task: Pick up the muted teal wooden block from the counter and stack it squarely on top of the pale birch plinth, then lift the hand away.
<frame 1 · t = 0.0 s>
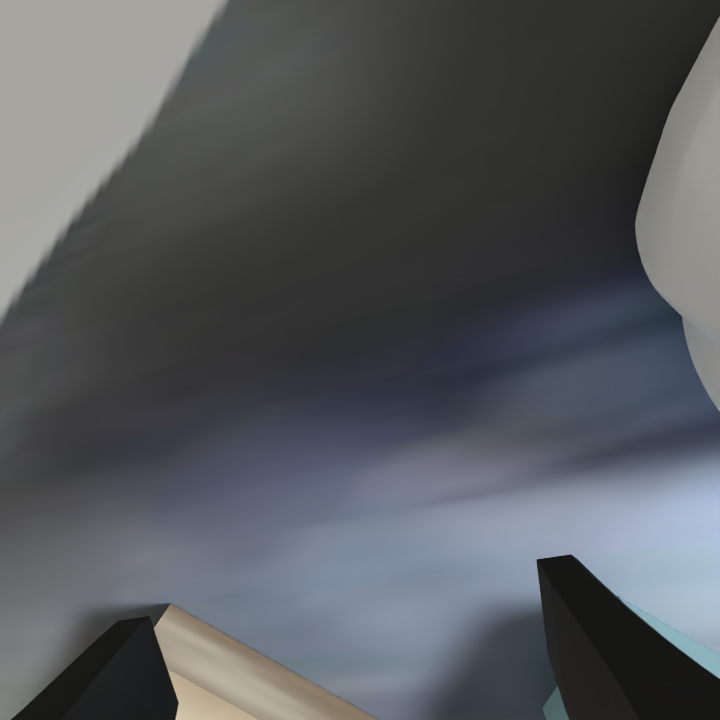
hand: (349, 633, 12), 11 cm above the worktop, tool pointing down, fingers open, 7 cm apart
teal block: (639, 685, 23), on the worktop
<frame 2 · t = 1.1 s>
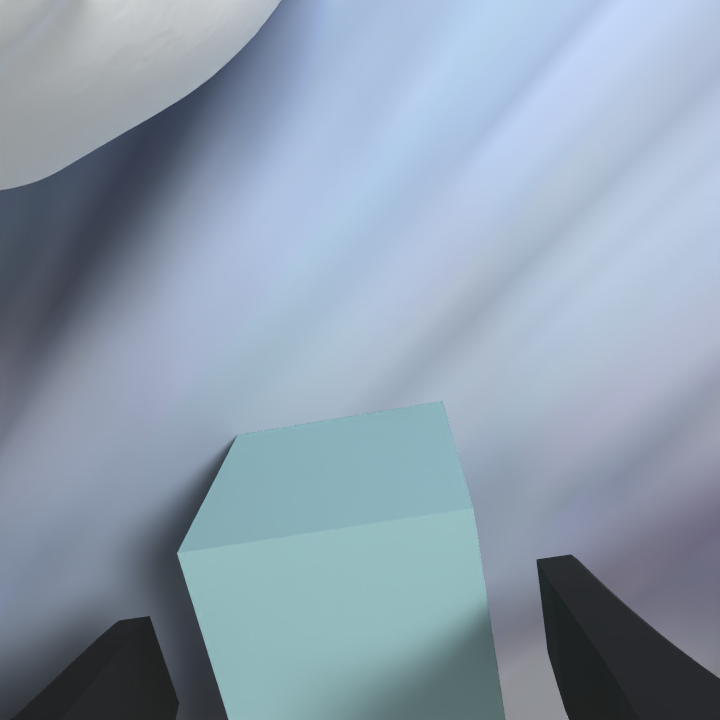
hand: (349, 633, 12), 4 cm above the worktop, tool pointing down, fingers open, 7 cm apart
teal block: (358, 508, 16), on the worktop
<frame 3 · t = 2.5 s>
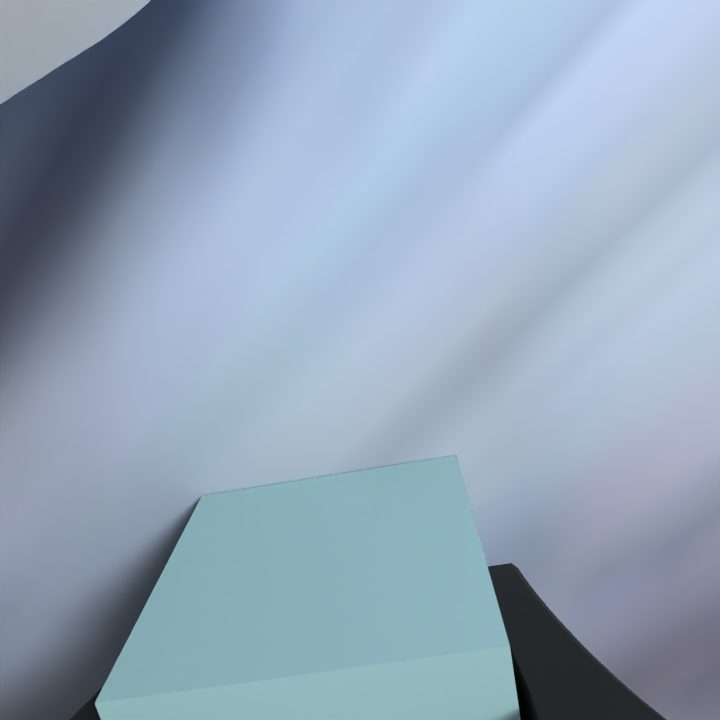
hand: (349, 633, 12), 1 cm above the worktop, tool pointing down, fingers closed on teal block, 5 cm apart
teal block: (351, 584, 13), on the worktop, touching gripper
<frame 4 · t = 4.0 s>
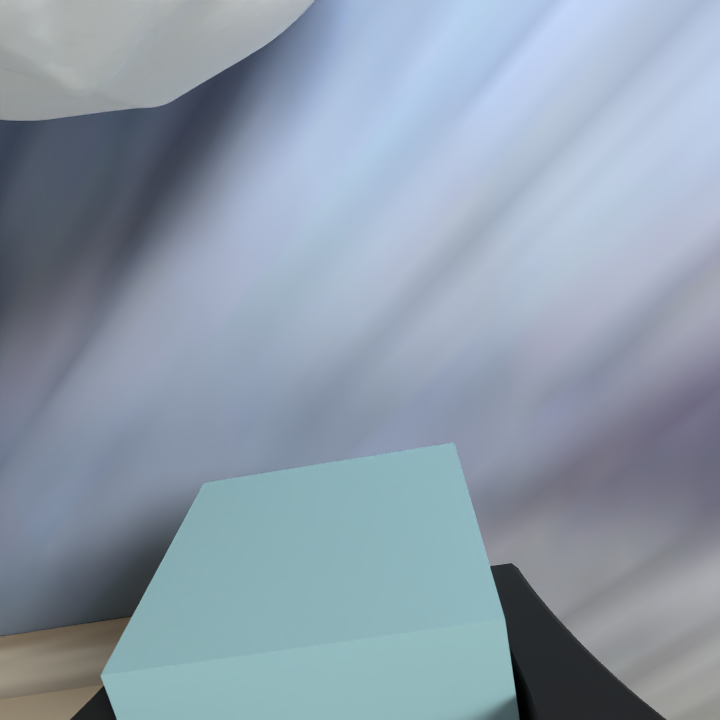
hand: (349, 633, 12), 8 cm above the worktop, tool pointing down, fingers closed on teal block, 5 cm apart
teal block: (351, 571, 13), point 7 cm above the worktop, touching gripper
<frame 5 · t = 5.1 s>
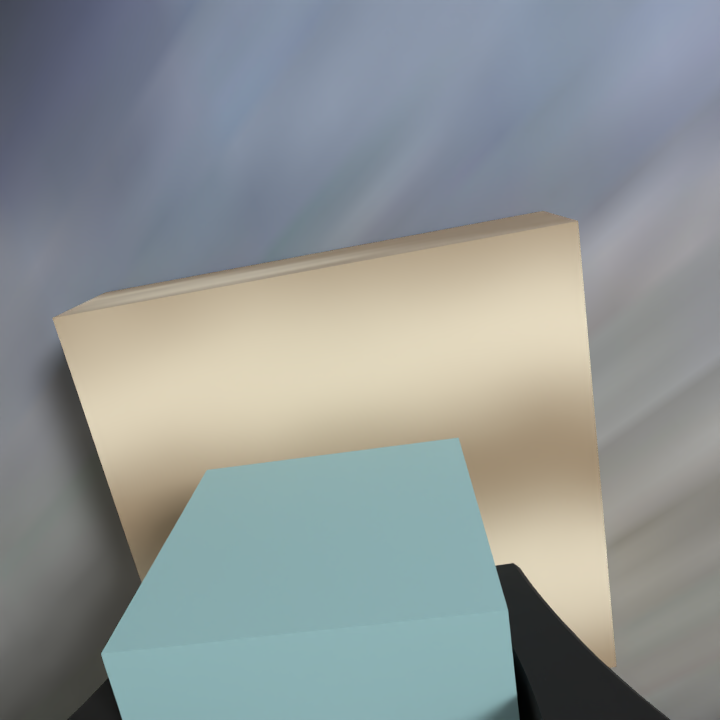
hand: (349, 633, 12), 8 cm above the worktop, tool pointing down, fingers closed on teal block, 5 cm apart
birch plinth: (359, 453, 19), on the worktop
teal block: (350, 563, 13), point 6 cm above the worktop, touching gripper
when the fingers open (6 cm above the worktop, at t = 5.9 s): teal block drops 1 cm, resting on birch plinth.
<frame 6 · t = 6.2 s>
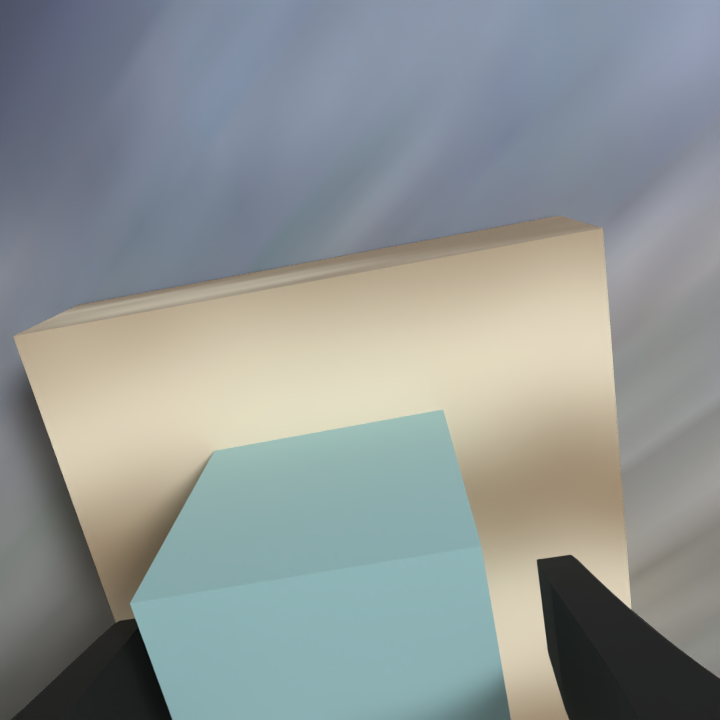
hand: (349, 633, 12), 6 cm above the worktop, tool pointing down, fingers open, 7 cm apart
birch plinth: (357, 479, 17), on the worktop
teal block: (350, 531, 14), point 3 cm above the worktop, touching birch plinth
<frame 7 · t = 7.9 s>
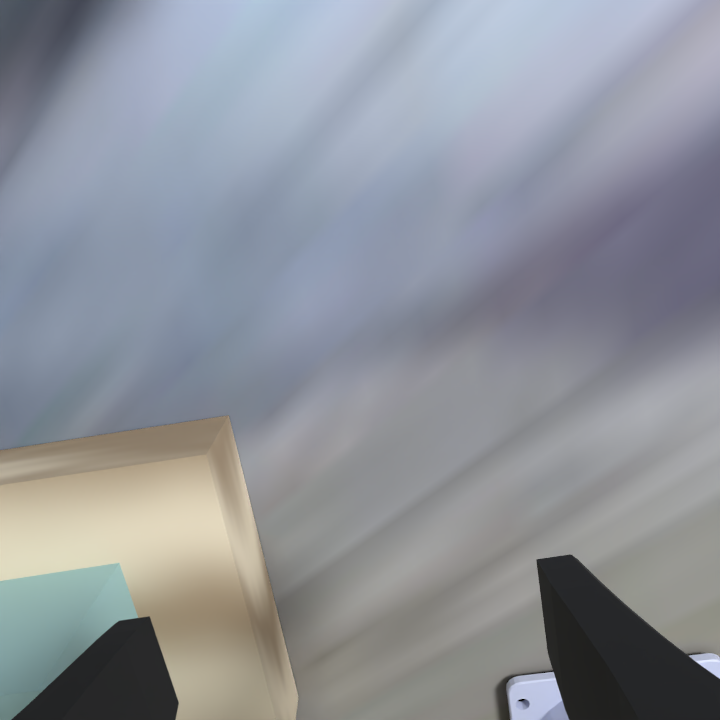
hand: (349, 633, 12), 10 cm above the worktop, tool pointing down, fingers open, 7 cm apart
birch plinth: (108, 588, 24), on the worktop
teal block: (68, 639, 21), point 3 cm above the worktop, touching birch plinth
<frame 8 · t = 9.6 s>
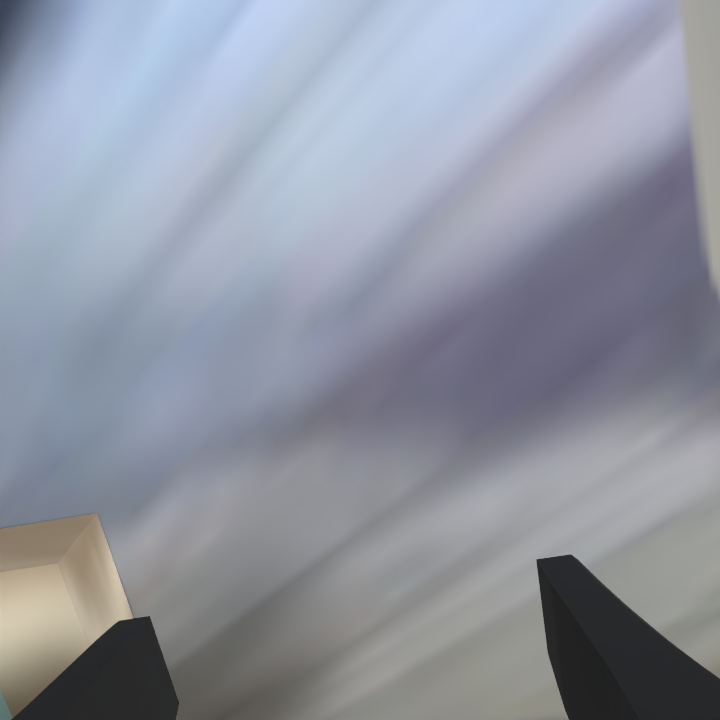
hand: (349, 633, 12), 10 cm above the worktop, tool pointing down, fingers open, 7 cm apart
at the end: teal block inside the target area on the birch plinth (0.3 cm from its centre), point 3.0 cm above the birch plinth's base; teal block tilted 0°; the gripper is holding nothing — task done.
